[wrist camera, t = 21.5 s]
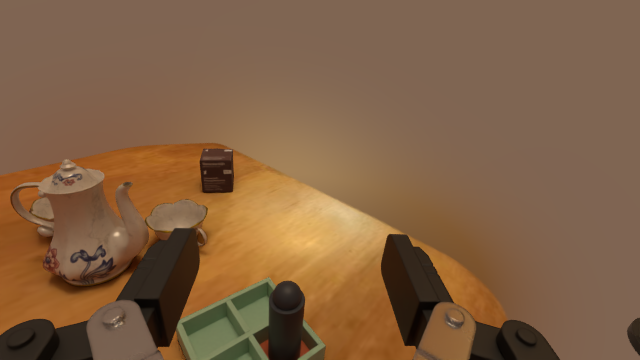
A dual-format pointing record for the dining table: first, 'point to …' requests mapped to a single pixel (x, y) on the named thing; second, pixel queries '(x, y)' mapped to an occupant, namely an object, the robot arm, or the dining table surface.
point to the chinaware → (97, 224)
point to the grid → (238, 329)
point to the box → (217, 170)
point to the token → (285, 321)
